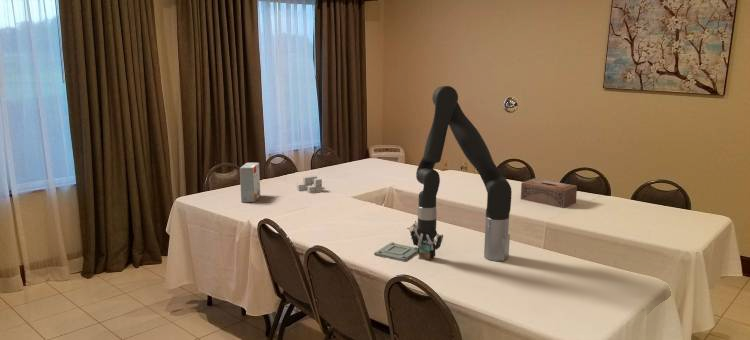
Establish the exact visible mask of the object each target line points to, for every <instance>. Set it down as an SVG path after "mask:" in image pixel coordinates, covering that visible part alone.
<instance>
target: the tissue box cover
mask: <svg viewBox="0 0 750 340" xmlns="http://www.w3.org/2000/svg"><path fill="white" fill-rule="evenodd" d="M577 190H578V185H574V184H570V183H569V184H567V183H563V182H556V181H552V180H551V181H550V180H546V179H542V178H541V179H540V178H536V177H535V178H531V179H528V180H525V181H522V182H521V188H520V200H522V201H527V202H532V203H537V204H542V205H547V206H551V207H555V208H561V209H566V208H568V207H569V206H572V205H574V204H576V203H577V193H578V191H577Z"/></svg>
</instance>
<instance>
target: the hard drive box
mask: <svg viewBox="0 0 750 340" xmlns="http://www.w3.org/2000/svg"><path fill="white" fill-rule="evenodd" d="M260 176H261V175H260V162H246V163H244V164H243V165H242V166H241V167H239V177H240V178H239V179H240V180H239V183H240V184H239V185H240V202H241V203H255V202H256V201H257V200H258V199H259V198H260V197H261V179H260V178H261V177H260Z"/></svg>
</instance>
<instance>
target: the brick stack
mask: <svg viewBox="0 0 750 340" xmlns="http://www.w3.org/2000/svg"><path fill="white" fill-rule="evenodd" d="M430 251H431V248H430V245H429V243H428V242H427V241H424V242H423V243H421V244H420V245H419V254H418V259H420V260H423V261H428V262H429V261H431V260H432V259H431V258H430Z"/></svg>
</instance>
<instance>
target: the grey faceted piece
mask: <svg viewBox="0 0 750 340" xmlns="http://www.w3.org/2000/svg"><path fill="white" fill-rule="evenodd" d="M406 229H408V230H409V233H410V235H411V231H413V230H417V229H418V221H417V220H415V221H414V223H413V224H412V225H411V226H409V227H407V228H406ZM417 237H418V241H419V238H420V237H419V235H418V233H417ZM410 239H411V240H412V236H411V237H410Z"/></svg>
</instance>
